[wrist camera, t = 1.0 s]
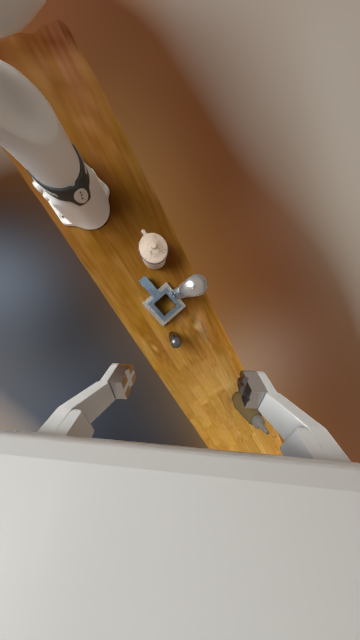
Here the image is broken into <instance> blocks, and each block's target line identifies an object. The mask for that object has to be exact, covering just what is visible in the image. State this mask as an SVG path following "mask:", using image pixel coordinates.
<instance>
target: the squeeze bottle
mask: <svg viewBox="0 0 360 640" xmlns="http://www.w3.org/2000/svg"><path fill="white" fill-rule="evenodd" d="M241 397H242V394H241V393H240V392H236V393H235V394H234V395H233V396H232V400H233V403H234V406H235V408H236V409H237V410H238V411H239V412H240V414H241V415H242V416H243V417H244V418H245V419H246V420H247V421H248V422H249V423H250V424H252V425H254V427H255V428H257V429H259V428H260V429H261V430H262V431H263V432H265V433H266V434H269V432H268V430H267V428H266V427H265V425H264V423H265V421H264V419H263V418H262V417H261V416H262V415H261V413H260V412H259V411H258V409H253V408H245V407H244V404H243V401H242V398H241Z"/></svg>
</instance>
